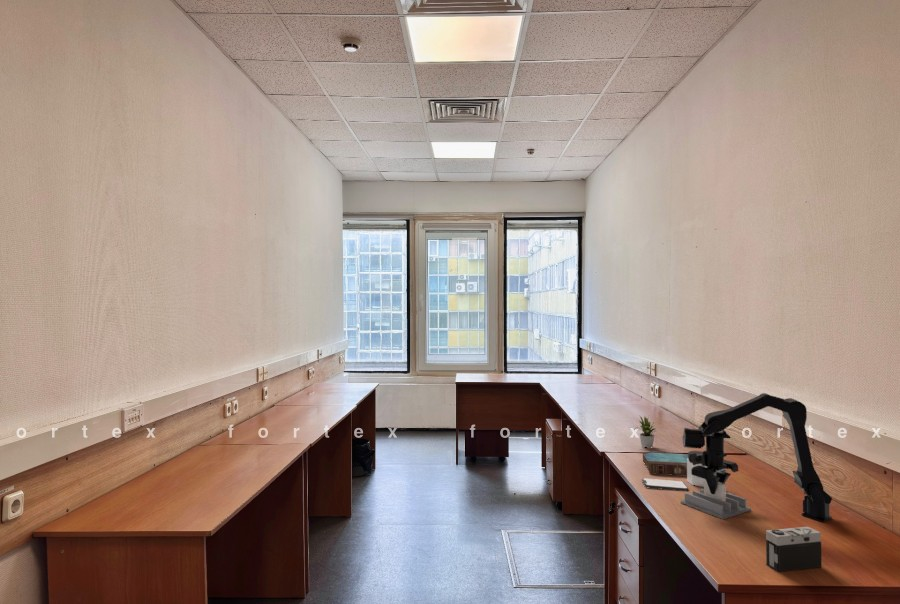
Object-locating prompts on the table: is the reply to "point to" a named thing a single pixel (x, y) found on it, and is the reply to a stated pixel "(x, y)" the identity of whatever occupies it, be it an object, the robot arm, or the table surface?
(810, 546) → the camera
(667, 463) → the brown teal box
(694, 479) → the jar
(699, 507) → the dish rack
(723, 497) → the white slab
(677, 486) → the phone case
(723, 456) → the robot arm
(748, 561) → the table surface
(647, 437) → the house plant
